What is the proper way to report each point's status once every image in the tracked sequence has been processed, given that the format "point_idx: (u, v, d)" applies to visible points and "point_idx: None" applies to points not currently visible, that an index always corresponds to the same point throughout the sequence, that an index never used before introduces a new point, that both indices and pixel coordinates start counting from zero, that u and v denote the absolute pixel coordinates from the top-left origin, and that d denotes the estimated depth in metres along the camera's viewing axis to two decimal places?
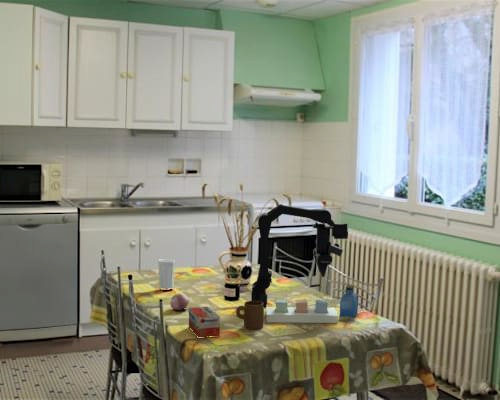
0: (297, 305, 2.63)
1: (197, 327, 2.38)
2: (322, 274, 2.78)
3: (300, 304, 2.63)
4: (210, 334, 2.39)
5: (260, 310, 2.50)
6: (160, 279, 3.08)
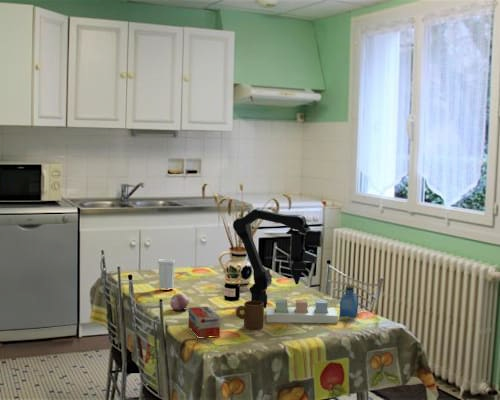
0: (297, 305, 2.63)
1: (197, 327, 2.38)
2: (296, 281, 2.73)
3: (300, 304, 2.63)
4: (210, 334, 2.39)
5: (260, 310, 2.50)
6: (160, 279, 3.08)
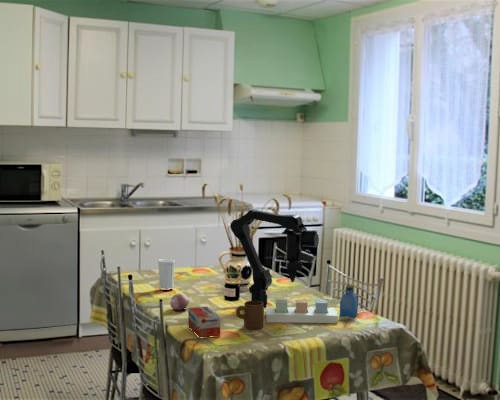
0: (297, 305, 2.63)
1: (198, 327, 2.38)
2: (292, 279, 2.76)
3: (300, 304, 2.63)
4: (211, 334, 2.39)
5: (260, 310, 2.50)
6: (160, 279, 3.08)
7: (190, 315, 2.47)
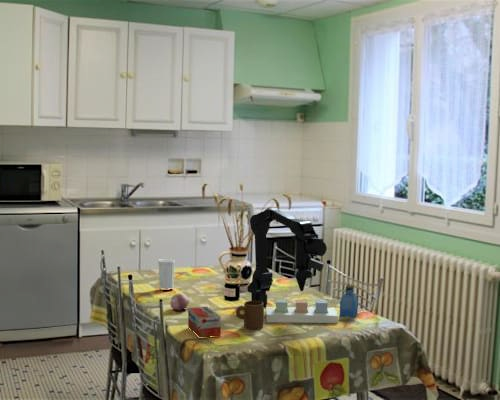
0: (297, 305, 2.63)
1: (198, 327, 2.38)
2: (301, 288, 2.64)
3: (300, 304, 2.63)
4: (211, 334, 2.39)
5: (260, 310, 2.50)
6: (160, 279, 3.08)
7: (190, 315, 2.47)
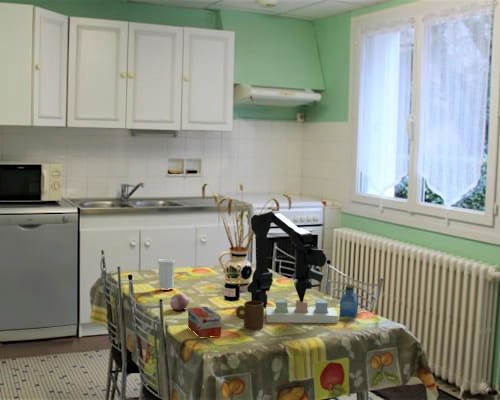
0: (297, 305, 2.63)
1: (199, 327, 2.38)
2: (300, 299, 2.64)
3: (300, 304, 2.63)
4: (212, 334, 2.39)
5: (260, 310, 2.50)
6: (160, 279, 3.08)
7: (190, 315, 2.47)
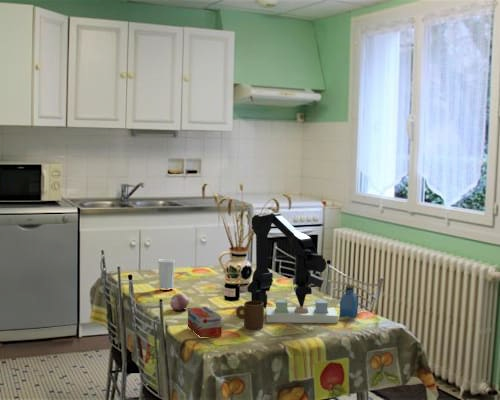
0: (297, 311, 2.63)
1: (199, 327, 2.38)
2: (300, 304, 2.65)
3: (300, 310, 2.63)
4: (212, 334, 2.39)
5: (260, 310, 2.50)
6: (160, 279, 3.08)
7: (190, 315, 2.47)
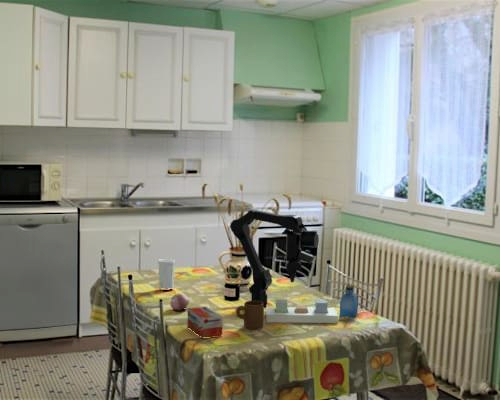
0: (297, 311, 2.63)
1: (200, 327, 2.38)
2: (291, 279, 2.77)
3: (300, 310, 2.63)
4: (213, 334, 2.39)
5: (260, 310, 2.50)
6: (160, 279, 3.08)
7: (190, 315, 2.47)
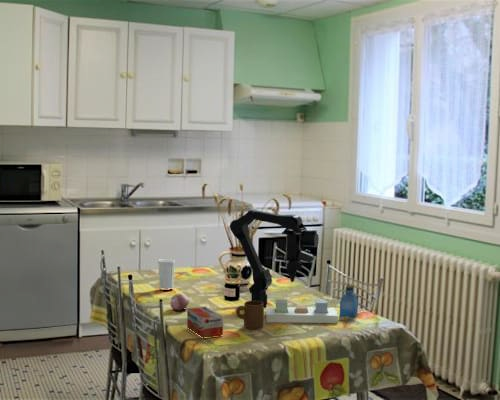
0: (297, 311, 2.63)
1: (201, 327, 2.38)
2: (291, 279, 2.77)
3: (300, 310, 2.63)
4: (214, 334, 2.39)
5: (260, 310, 2.50)
6: (160, 279, 3.08)
7: (190, 316, 2.46)
